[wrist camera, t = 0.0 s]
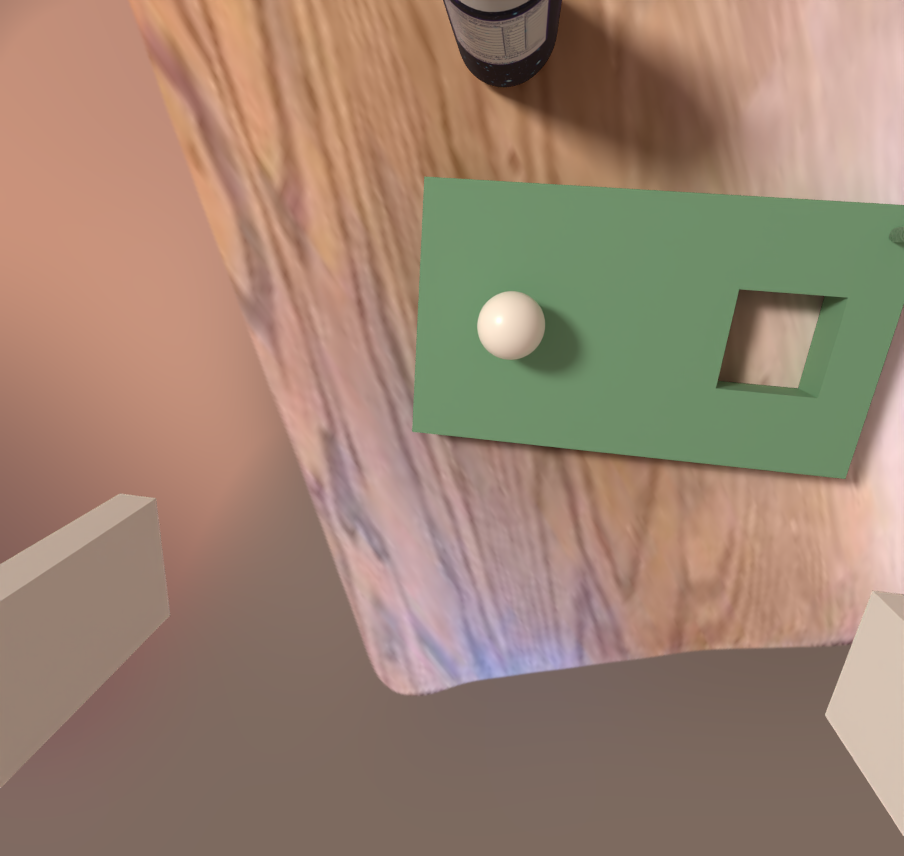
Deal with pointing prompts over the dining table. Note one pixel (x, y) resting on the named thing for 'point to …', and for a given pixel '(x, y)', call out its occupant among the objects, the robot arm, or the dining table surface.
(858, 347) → the putting mat
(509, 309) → the ball
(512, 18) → the beverage can
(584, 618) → the dining table surface
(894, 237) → the flag pin
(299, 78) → the dining table surface
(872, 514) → the dining table surface
